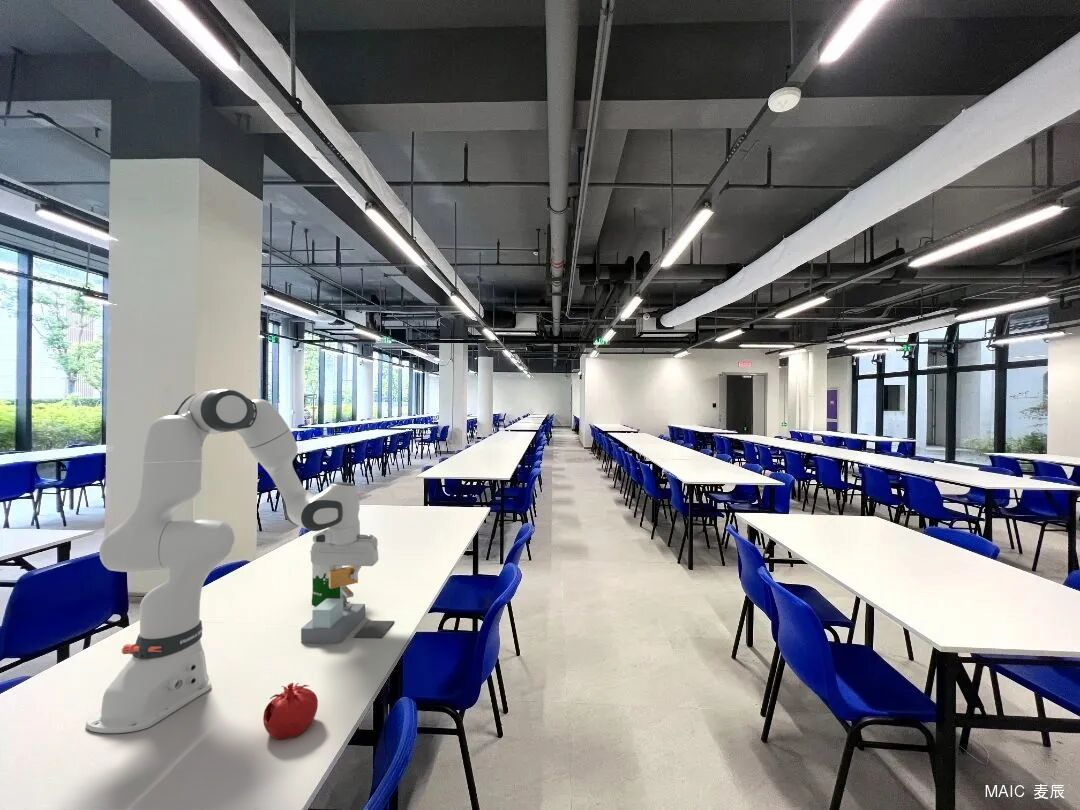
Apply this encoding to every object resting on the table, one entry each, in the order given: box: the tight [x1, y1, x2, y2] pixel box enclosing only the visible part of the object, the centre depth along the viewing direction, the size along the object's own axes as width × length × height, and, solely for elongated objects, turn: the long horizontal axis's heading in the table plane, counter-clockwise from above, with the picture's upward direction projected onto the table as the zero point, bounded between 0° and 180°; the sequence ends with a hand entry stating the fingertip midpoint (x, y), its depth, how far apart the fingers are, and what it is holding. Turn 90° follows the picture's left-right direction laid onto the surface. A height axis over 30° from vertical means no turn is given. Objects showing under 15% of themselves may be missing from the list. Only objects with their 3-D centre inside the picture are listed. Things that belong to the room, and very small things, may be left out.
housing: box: [300, 602, 366, 644], centre depth 141 cm, size 17×11×4 cm, turn 177°
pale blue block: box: [311, 598, 343, 628], centre depth 137 cm, size 8×5×5 cm, turn 177°
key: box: [329, 566, 359, 608], centre depth 144 cm, size 8×8×12 cm
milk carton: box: [309, 550, 343, 607], centre depth 161 cm, size 9×9×20 cm
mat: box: [353, 620, 395, 639], centre depth 140 cm, size 10×8×1 cm
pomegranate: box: [262, 682, 319, 740], centre depth 98 cm, size 10×10×9 cm
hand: (345, 579), depth 147 cm, fingers closed on key, 4 cm apart
